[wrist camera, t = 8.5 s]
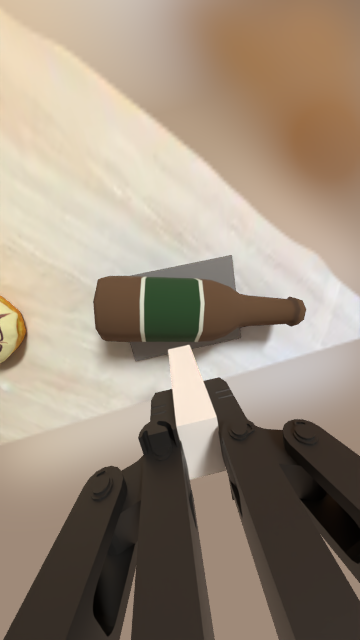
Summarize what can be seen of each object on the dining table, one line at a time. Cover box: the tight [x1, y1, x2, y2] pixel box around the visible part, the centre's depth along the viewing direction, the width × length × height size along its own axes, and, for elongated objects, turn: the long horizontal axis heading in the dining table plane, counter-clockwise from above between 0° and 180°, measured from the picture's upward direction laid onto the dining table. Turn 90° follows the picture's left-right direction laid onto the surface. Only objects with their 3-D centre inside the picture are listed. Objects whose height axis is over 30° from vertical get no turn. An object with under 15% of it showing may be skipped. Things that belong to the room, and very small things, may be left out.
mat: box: [130, 255, 241, 361], centre depth 28 cm, size 16×12×1 cm
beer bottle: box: [93, 276, 306, 342], centre depth 24 cm, size 8×8×24 cm
